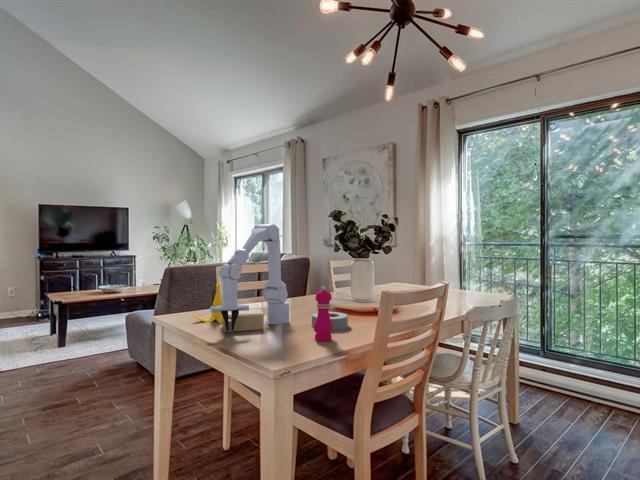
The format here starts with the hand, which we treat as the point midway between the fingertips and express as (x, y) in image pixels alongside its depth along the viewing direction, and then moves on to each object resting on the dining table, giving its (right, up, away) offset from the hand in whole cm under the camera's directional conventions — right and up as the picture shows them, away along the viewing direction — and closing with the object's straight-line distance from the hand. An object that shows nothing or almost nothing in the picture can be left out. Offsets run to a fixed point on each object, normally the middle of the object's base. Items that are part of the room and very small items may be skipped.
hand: (229, 329), depth 152 cm
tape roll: (+39, -2, +15) cm, 42 cm away
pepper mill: (+36, -3, -5) cm, 37 cm away
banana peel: (-11, -2, +27) cm, 29 cm away
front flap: (+5, -2, +3) cm, 6 cm away
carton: (+3, -2, +11) cm, 12 cm away
